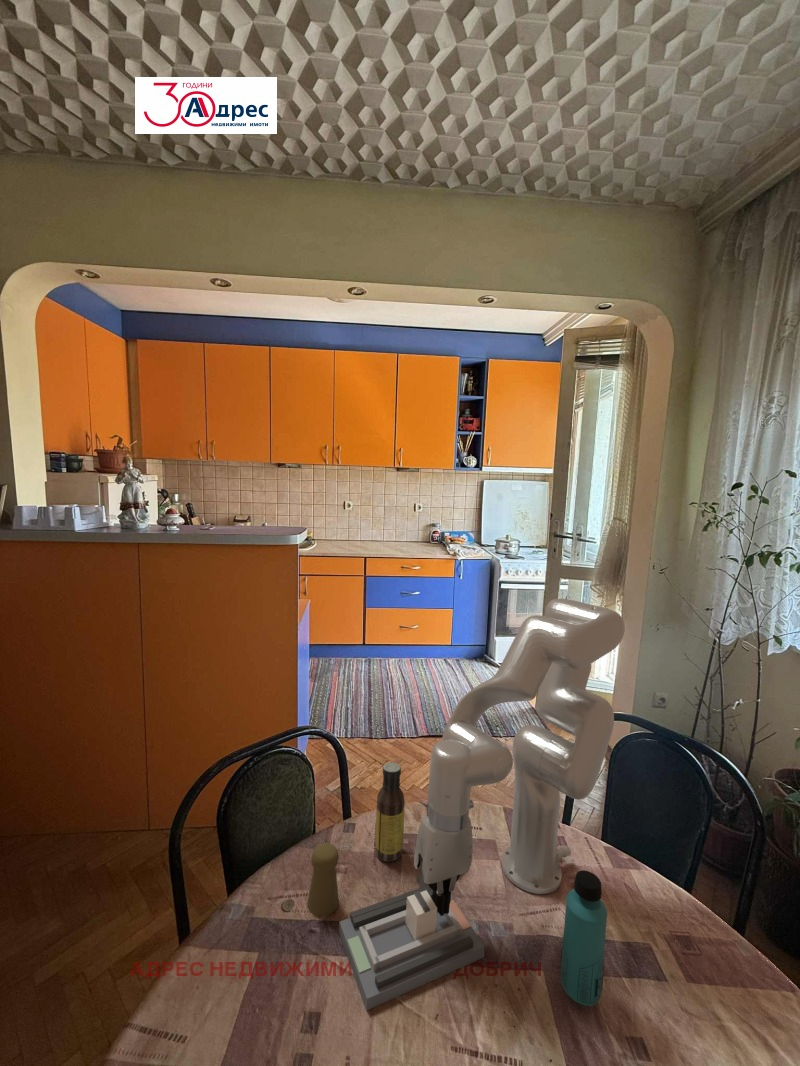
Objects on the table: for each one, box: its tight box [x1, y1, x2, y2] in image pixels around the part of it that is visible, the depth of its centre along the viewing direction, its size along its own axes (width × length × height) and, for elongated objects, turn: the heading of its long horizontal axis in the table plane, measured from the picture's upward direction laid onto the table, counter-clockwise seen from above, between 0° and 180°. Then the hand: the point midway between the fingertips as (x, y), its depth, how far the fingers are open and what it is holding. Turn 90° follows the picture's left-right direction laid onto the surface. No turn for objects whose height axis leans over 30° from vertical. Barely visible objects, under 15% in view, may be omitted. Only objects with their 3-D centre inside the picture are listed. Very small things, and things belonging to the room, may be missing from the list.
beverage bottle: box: [559, 869, 608, 1007], centre depth 74 cm, size 6×7×20 cm
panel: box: [338, 887, 486, 1011], centre depth 82 cm, size 22×14×3 cm, turn 115°
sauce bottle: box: [375, 761, 406, 863], centre depth 102 cm, size 6×6×20 cm
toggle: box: [405, 890, 437, 941], centre depth 82 cm, size 4×4×5 cm
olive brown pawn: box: [306, 842, 340, 918], centre depth 89 cm, size 6×6×11 cm
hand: (440, 908), depth 84 cm, fingers closed
